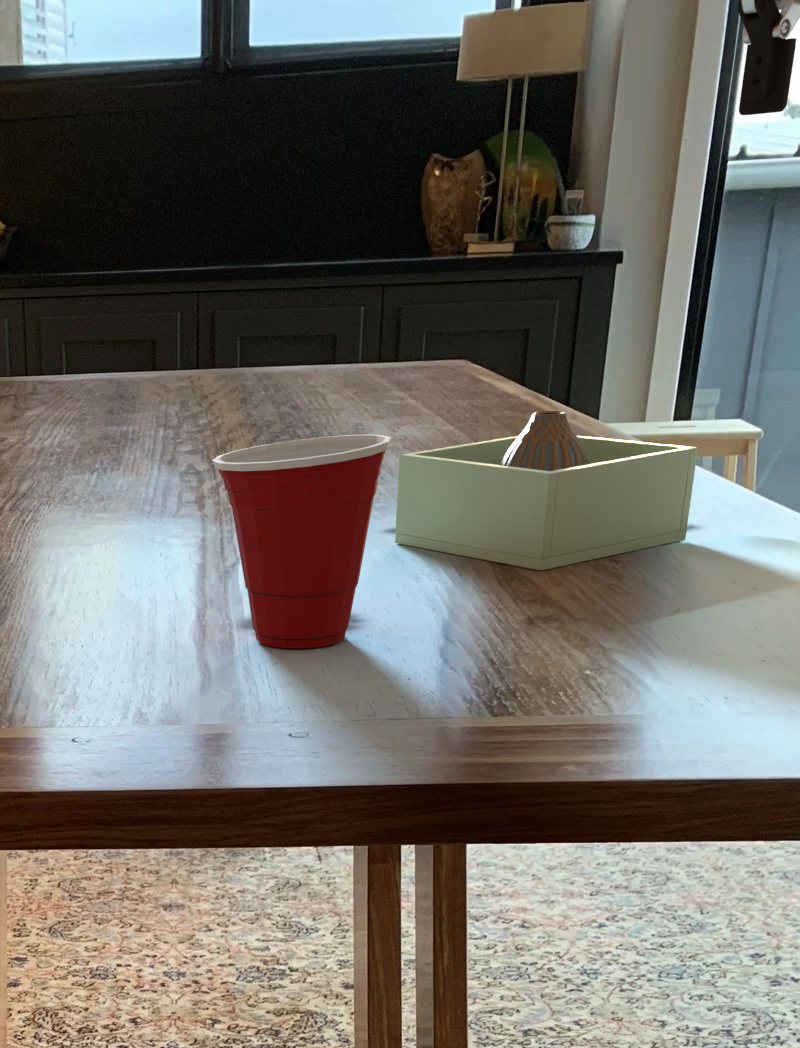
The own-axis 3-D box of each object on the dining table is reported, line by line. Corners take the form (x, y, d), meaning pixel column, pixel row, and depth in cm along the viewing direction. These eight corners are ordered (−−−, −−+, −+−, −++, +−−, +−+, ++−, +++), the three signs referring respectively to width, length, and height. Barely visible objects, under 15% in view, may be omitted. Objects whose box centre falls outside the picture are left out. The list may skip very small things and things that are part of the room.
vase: (550, 519, 124) (560, 404, 120) (602, 532, 118) (616, 412, 114) (475, 529, 122) (484, 413, 118) (525, 542, 117) (536, 421, 113)
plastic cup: (247, 614, 105) (248, 429, 99) (402, 623, 100) (413, 429, 95) (187, 653, 97) (184, 454, 91) (353, 665, 92) (361, 455, 86)
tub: (533, 516, 130) (541, 431, 127) (685, 540, 118) (698, 447, 115) (394, 543, 124) (399, 454, 120) (540, 571, 111) (549, 473, 108)
